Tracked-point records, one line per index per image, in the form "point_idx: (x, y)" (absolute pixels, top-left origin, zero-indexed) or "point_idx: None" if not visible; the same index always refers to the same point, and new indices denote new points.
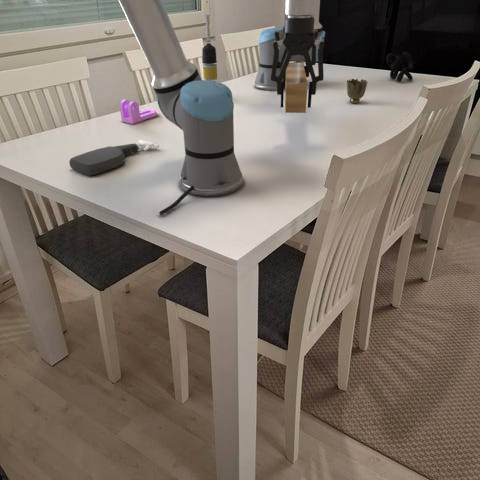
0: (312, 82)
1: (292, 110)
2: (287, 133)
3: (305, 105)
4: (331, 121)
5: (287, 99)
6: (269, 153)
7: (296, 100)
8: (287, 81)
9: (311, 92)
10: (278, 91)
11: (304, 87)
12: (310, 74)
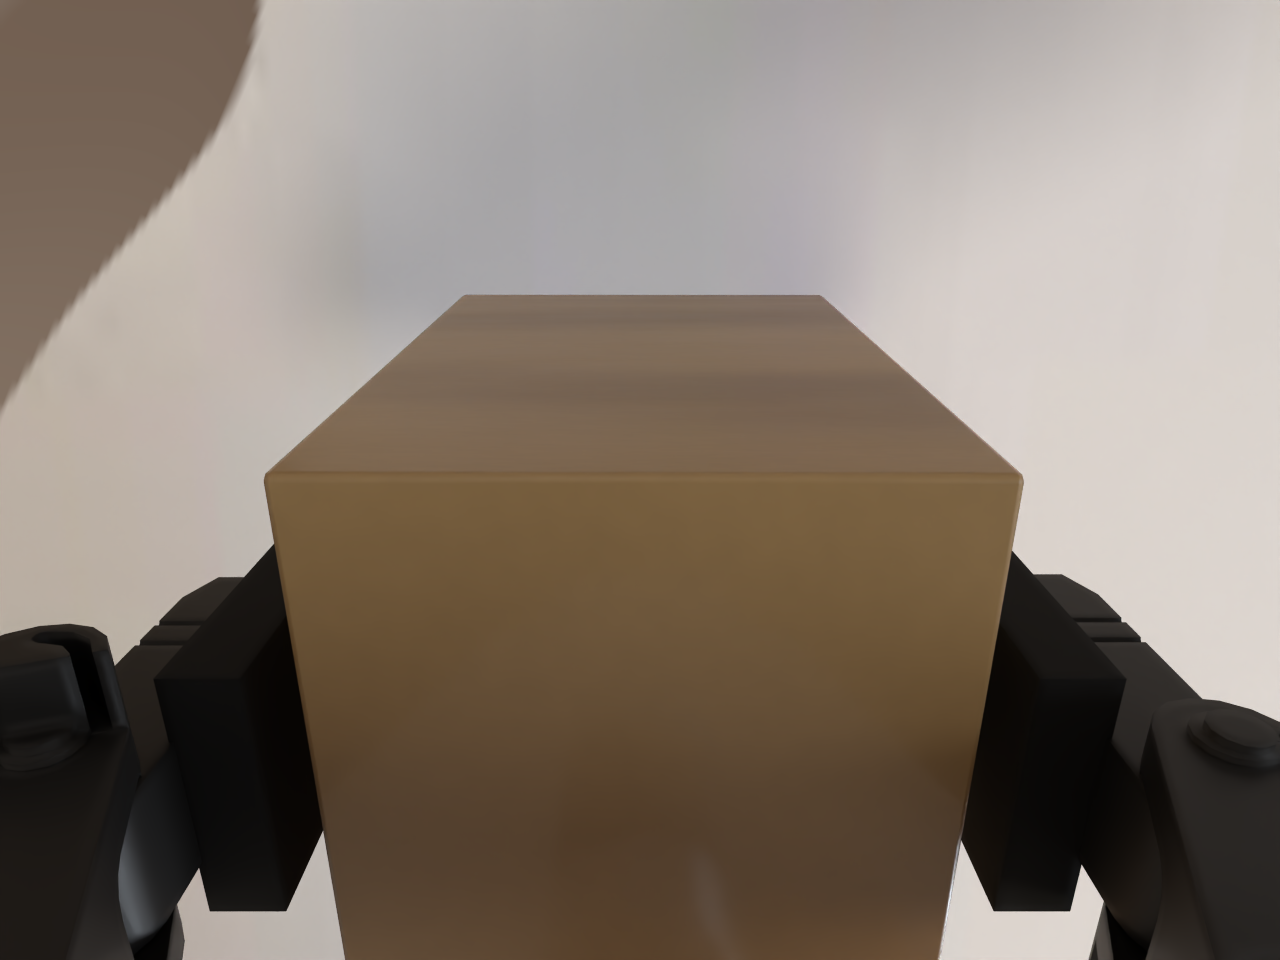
0: (150, 752)
1: (700, 301)
2: None
3: (447, 320)
4: (293, 951)
5: (845, 344)
6: (915, 72)
7: (634, 344)
8: (939, 780)
9: (268, 556)
10: (1076, 610)
11: (396, 436)
12: (64, 925)
